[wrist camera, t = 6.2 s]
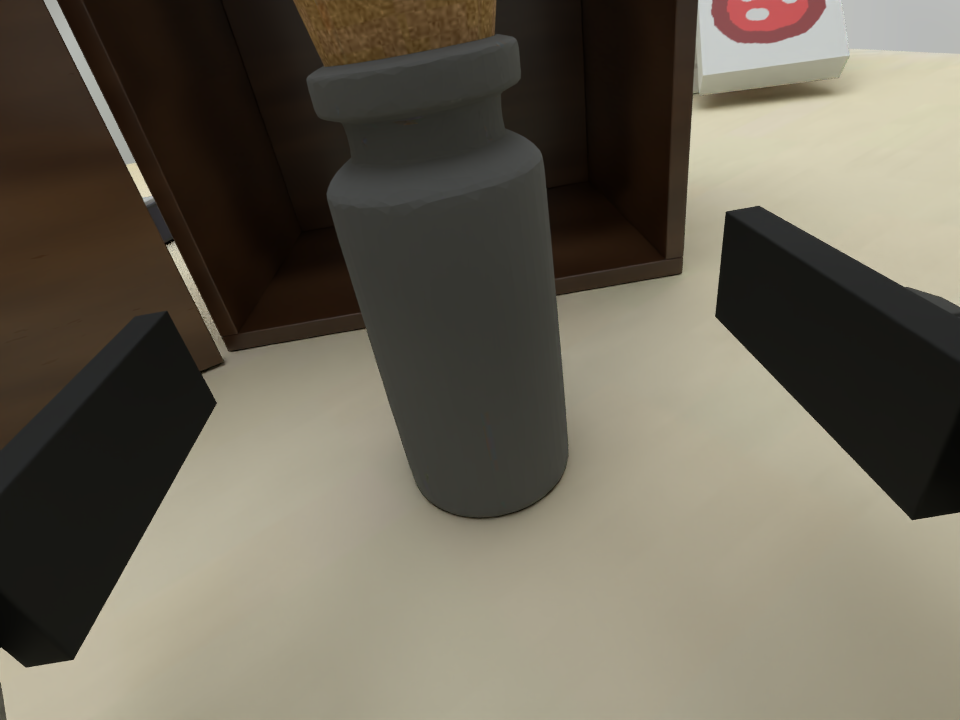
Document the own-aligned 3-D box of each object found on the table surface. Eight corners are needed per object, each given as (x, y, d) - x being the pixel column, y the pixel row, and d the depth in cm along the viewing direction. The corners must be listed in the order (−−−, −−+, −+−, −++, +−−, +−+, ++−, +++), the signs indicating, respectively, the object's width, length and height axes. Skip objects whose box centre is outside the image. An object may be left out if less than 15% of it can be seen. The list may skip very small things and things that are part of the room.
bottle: (387, 509, 18) (196, -13, 10) (442, 403, 23) (340, -16, 15) (555, 530, 17) (483, -83, 8) (579, 411, 21) (547, -62, 13)
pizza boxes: (683, 113, 64) (693, -78, 54) (665, 79, 88) (670, -58, 78) (867, 91, 59) (914, -123, 49) (794, 61, 83) (816, -88, 73)
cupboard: (682, 273, 30) (731, -539, 16) (228, 352, 30) (-123, -365, 16) (598, 188, 45) (584, -263, 31) (296, 241, 45) (146, -178, 31)
